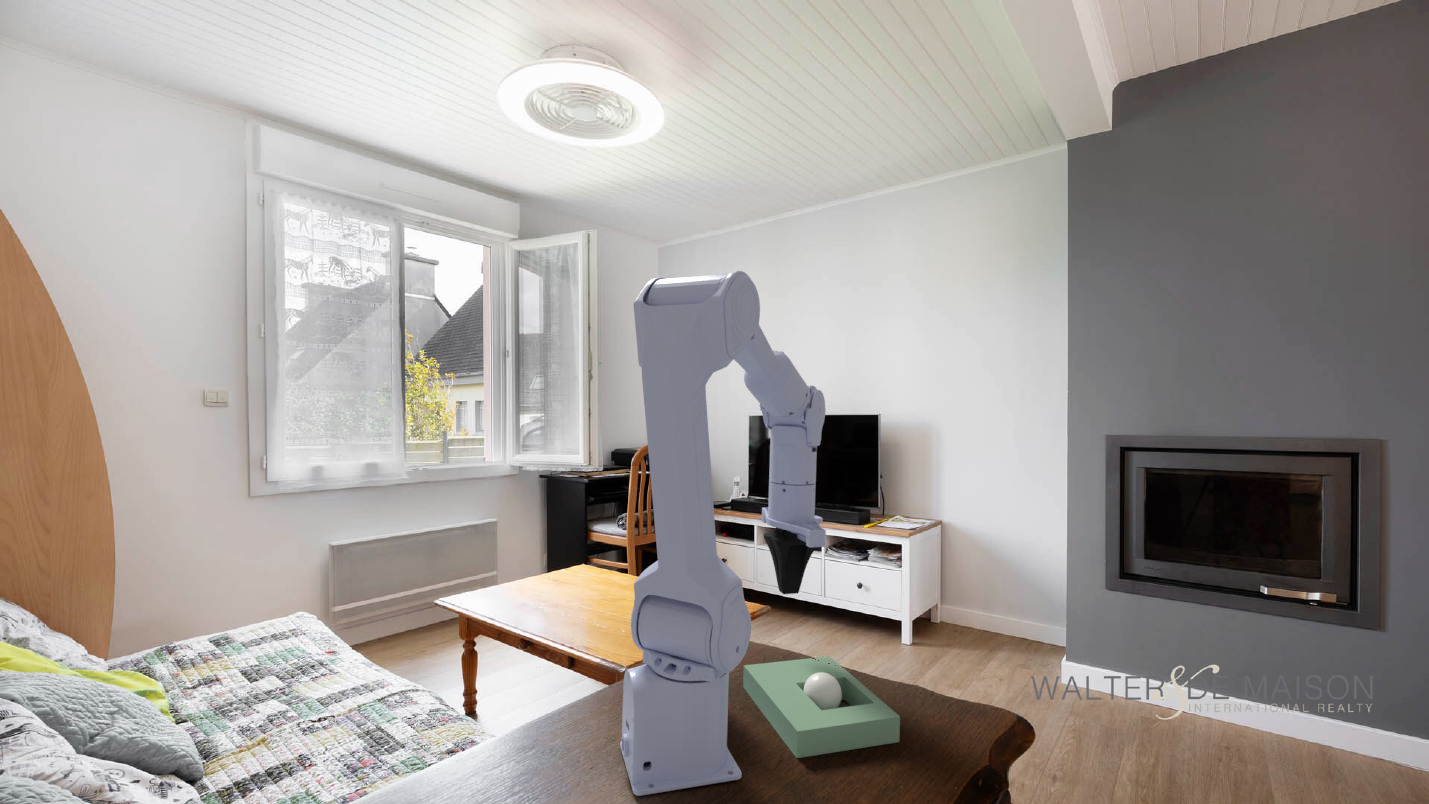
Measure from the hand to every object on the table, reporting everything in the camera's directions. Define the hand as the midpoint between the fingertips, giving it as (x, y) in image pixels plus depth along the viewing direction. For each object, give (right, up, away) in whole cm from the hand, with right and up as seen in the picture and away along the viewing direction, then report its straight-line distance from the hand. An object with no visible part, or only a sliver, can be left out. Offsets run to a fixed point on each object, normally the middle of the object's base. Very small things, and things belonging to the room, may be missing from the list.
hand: (788, 592), depth 77 cm
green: (+1, -10, -11) cm, 14 cm away
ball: (+2, -7, -11) cm, 13 cm away
